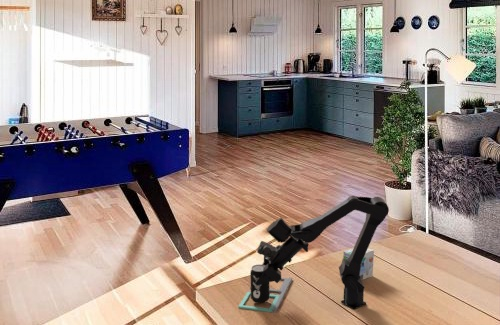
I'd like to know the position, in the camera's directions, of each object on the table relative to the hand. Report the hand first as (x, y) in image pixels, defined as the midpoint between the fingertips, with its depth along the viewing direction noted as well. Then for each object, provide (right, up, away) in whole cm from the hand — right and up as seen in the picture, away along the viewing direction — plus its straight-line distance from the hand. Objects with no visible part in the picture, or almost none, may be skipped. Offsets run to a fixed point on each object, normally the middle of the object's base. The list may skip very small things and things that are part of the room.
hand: (256, 280), depth 194 cm
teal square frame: (+1, -8, +2) cm, 8 cm away
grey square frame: (+5, -5, +16) cm, 17 cm away
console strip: (+6, -7, +8) cm, 12 cm away
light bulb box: (+40, -4, +23) cm, 46 cm away
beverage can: (+1, -7, +2) cm, 8 cm away
